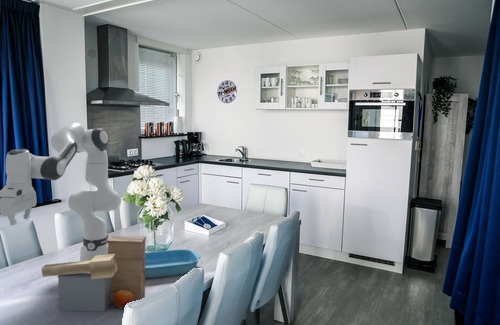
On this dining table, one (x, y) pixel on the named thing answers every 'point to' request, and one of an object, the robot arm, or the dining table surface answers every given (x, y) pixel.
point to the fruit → (122, 298)
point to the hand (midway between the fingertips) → (20, 221)
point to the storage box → (83, 292)
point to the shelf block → (128, 264)
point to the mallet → (85, 267)
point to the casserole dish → (169, 262)
